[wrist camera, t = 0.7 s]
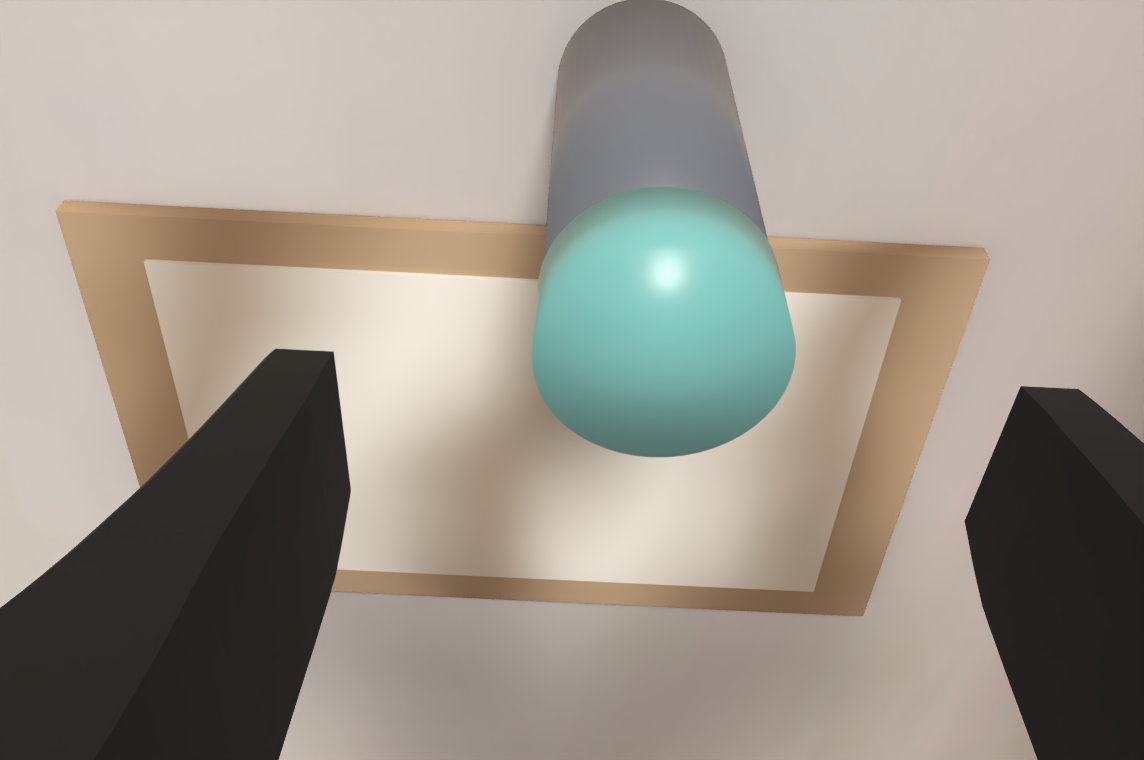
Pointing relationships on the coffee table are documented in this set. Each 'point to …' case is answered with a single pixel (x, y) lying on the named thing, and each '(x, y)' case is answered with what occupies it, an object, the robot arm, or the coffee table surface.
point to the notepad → (529, 404)
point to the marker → (655, 245)
